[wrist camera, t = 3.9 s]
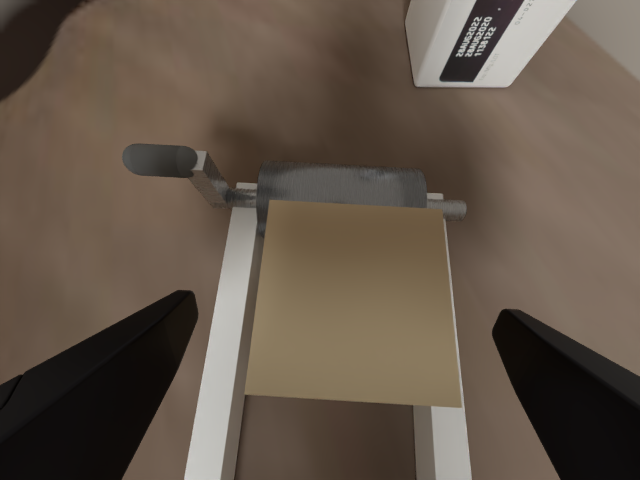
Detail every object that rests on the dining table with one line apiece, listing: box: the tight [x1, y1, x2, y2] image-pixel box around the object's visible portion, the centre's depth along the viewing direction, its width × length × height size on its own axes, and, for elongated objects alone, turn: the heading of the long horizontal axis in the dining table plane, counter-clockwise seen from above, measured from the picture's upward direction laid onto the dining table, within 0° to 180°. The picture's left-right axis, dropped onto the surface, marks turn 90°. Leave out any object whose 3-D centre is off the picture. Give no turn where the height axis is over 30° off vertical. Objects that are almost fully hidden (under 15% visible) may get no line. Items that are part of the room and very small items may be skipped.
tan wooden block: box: [244, 200, 462, 408], centre depth 11 cm, size 4×4×10 cm
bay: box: [122, 144, 472, 480], centre depth 11 cm, size 23×17×6 cm
